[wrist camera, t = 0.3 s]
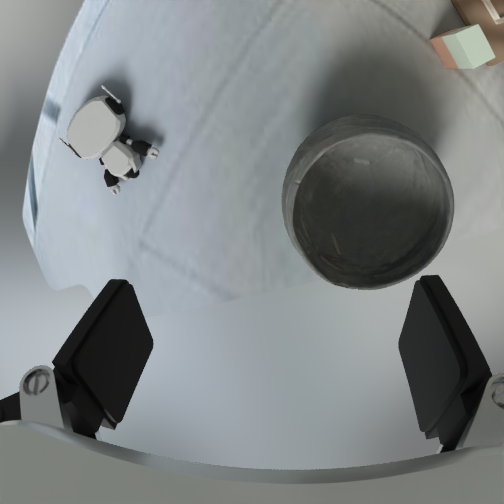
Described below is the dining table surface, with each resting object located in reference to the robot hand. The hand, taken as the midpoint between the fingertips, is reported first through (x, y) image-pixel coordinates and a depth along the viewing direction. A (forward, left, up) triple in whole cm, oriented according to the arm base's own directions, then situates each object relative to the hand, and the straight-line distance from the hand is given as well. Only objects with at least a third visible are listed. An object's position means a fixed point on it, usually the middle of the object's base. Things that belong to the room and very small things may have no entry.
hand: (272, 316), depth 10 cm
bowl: (+11, +5, -37) cm, 39 cm away
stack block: (+1, +30, -36) cm, 47 cm away
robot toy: (-16, -21, -37) cm, 45 cm away
